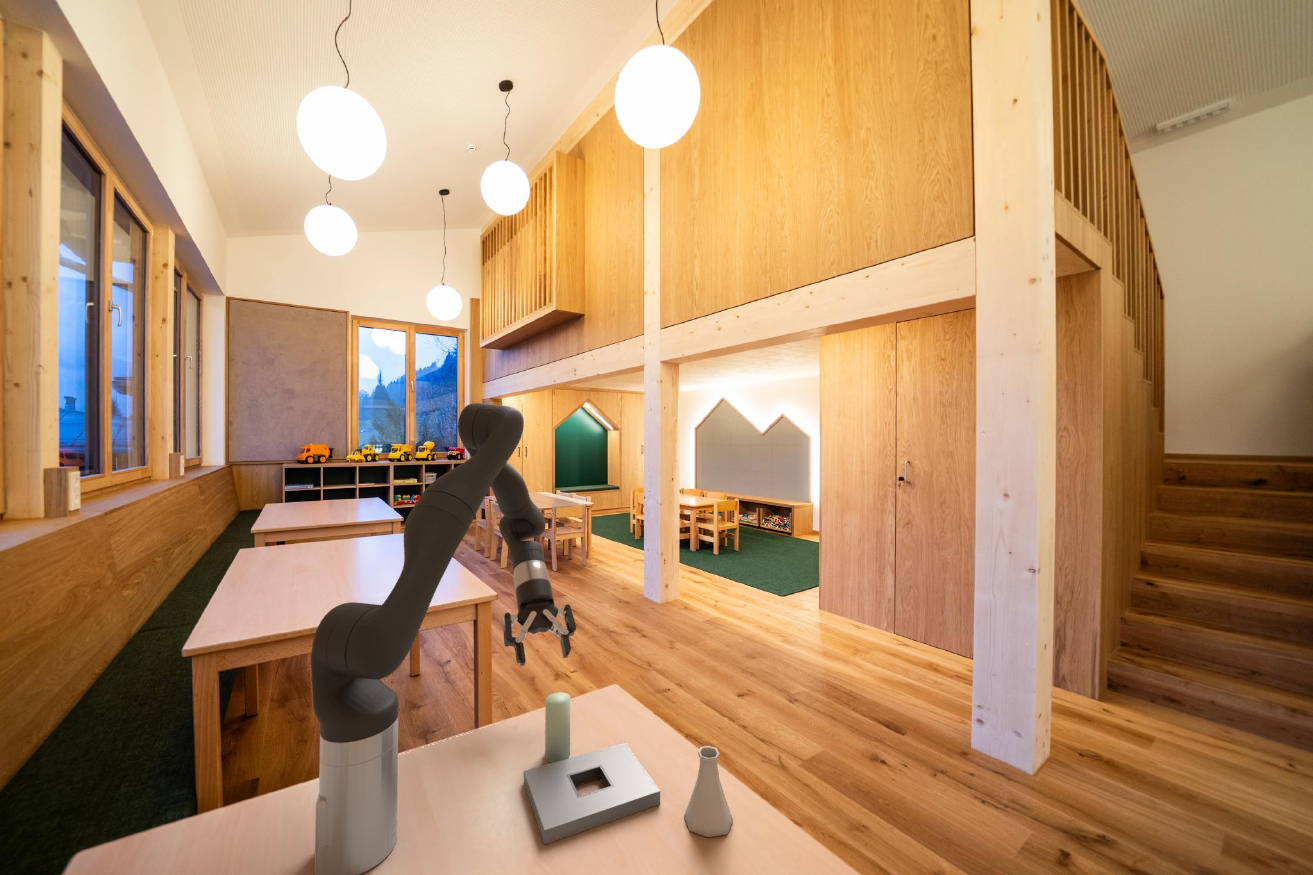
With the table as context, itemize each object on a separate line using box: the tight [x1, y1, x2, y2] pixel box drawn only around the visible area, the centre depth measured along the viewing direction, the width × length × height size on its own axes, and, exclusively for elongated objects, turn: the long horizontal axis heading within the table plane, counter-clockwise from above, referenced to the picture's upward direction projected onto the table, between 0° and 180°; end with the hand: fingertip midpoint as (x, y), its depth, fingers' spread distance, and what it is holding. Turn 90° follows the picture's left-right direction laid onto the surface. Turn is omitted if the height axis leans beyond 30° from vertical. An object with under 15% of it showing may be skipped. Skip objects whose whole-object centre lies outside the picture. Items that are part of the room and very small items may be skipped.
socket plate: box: [523, 742, 661, 846], centre depth 79 cm, size 18×14×2 cm
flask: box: [683, 745, 734, 838], centre depth 74 cm, size 7×7×10 cm
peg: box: [544, 692, 571, 763], centre depth 89 cm, size 4×4×10 cm
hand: (545, 660), depth 98 cm, fingers open, 8 cm apart
